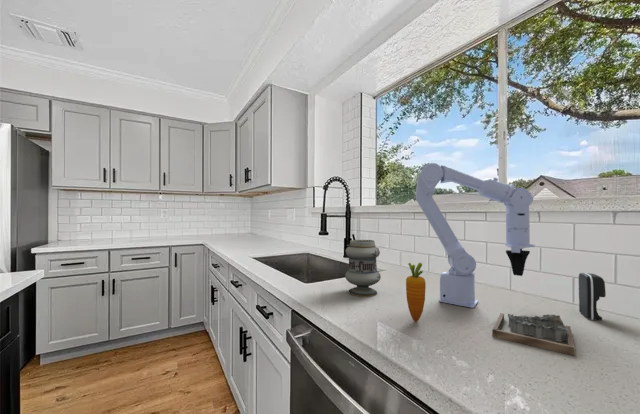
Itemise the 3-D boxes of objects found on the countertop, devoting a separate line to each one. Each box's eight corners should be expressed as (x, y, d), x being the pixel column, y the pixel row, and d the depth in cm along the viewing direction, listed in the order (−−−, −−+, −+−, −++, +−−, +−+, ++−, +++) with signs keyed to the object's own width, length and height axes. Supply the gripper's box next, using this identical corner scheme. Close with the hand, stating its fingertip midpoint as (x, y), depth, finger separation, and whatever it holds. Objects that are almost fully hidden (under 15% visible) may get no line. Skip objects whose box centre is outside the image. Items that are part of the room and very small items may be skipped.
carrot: (402, 318, 73) (402, 260, 74) (420, 318, 74) (420, 260, 74) (410, 326, 68) (409, 263, 69) (429, 325, 69) (429, 263, 69)
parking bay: (492, 336, 63) (492, 329, 63) (500, 318, 74) (500, 313, 74) (574, 355, 55) (574, 347, 55) (570, 332, 65) (570, 326, 65)
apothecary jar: (340, 289, 102) (340, 239, 103) (371, 287, 105) (371, 238, 106) (352, 298, 91) (352, 242, 91) (386, 296, 93) (386, 241, 94)
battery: (608, 323, 72) (607, 277, 72) (588, 320, 73) (587, 275, 74) (596, 314, 78) (595, 272, 78) (578, 312, 80) (577, 271, 80)
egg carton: (562, 333, 66) (562, 315, 66) (569, 345, 60) (569, 326, 60) (507, 323, 72) (507, 307, 72) (508, 333, 65) (508, 315, 65)
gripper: (533, 230, 76) (534, 281, 75) (535, 228, 87) (536, 273, 87) (502, 229, 80) (502, 277, 80) (507, 227, 92) (508, 270, 91)
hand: (518, 275), depth 84 cm, fingers closed
